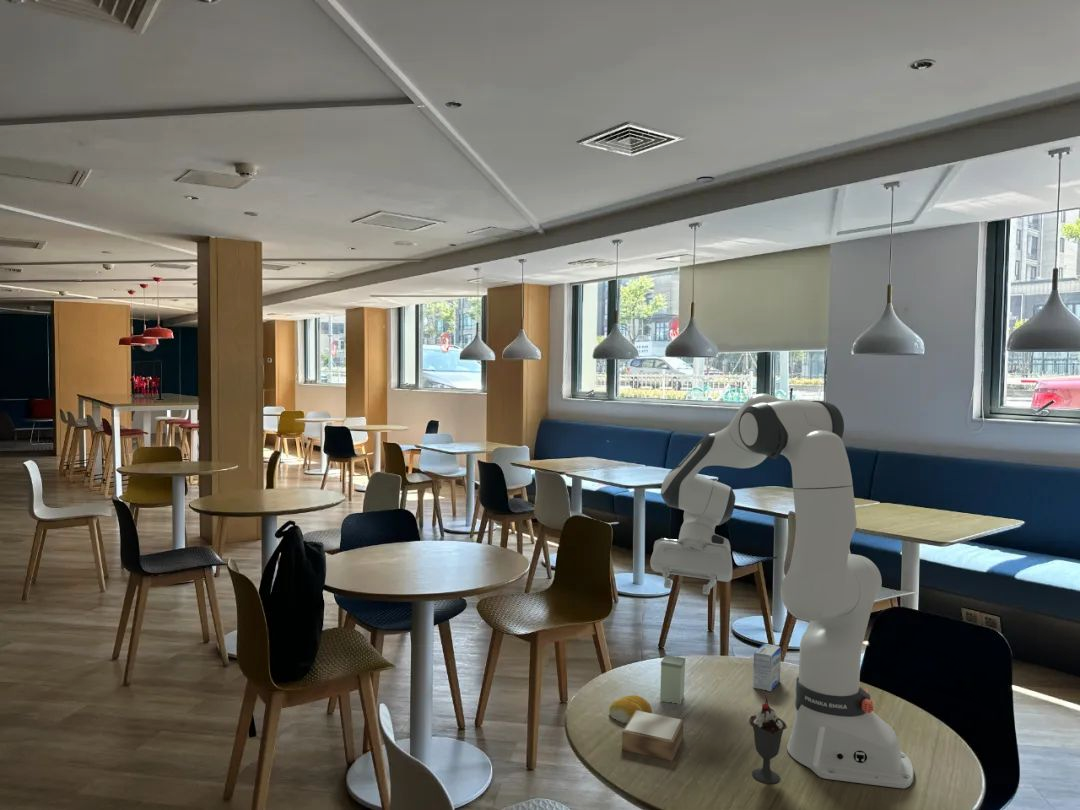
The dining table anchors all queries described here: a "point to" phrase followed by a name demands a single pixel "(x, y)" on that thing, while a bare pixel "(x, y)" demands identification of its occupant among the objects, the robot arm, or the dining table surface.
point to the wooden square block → (652, 735)
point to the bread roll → (628, 708)
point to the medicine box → (766, 667)
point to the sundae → (767, 741)
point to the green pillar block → (672, 679)
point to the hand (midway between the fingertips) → (686, 590)
